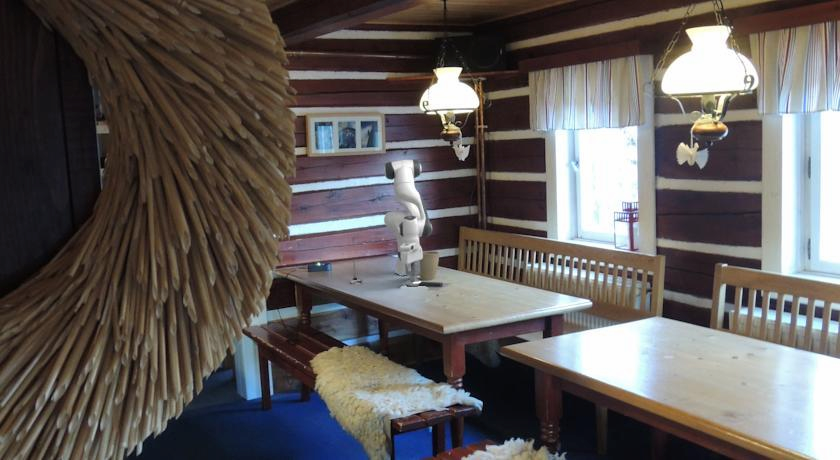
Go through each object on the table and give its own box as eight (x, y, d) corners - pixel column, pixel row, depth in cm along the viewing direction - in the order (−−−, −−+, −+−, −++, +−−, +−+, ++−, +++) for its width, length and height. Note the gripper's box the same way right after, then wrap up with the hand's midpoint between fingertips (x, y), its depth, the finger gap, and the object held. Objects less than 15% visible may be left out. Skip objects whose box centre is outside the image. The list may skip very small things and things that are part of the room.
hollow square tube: (410, 272, 443) (410, 260, 442) (420, 273, 440) (419, 260, 439) (405, 274, 437) (405, 262, 436) (415, 275, 435) (414, 262, 434)
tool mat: (411, 282, 452) (410, 281, 451) (452, 284, 440) (452, 283, 440) (394, 289, 434) (394, 288, 434) (437, 291, 422) (437, 290, 422)
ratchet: (403, 286, 438) (402, 276, 437) (410, 283, 445) (409, 273, 445) (438, 288, 428) (437, 277, 427) (444, 285, 436) (444, 274, 435)
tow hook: (367, 283, 458) (361, 280, 467) (366, 262, 456) (360, 259, 464) (354, 285, 455) (348, 282, 463) (353, 264, 453) (346, 261, 461)
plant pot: (440, 281, 450) (439, 254, 448) (414, 282, 450) (413, 255, 449) (440, 276, 465) (439, 250, 463) (415, 278, 465) (414, 251, 463)
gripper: (415, 242, 447) (416, 266, 449) (398, 247, 429) (399, 272, 431) (424, 242, 445) (426, 266, 446) (408, 248, 426) (409, 273, 428)
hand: (413, 269), depth 438 cm, fingers closed on hollow square tube, 6 cm apart
